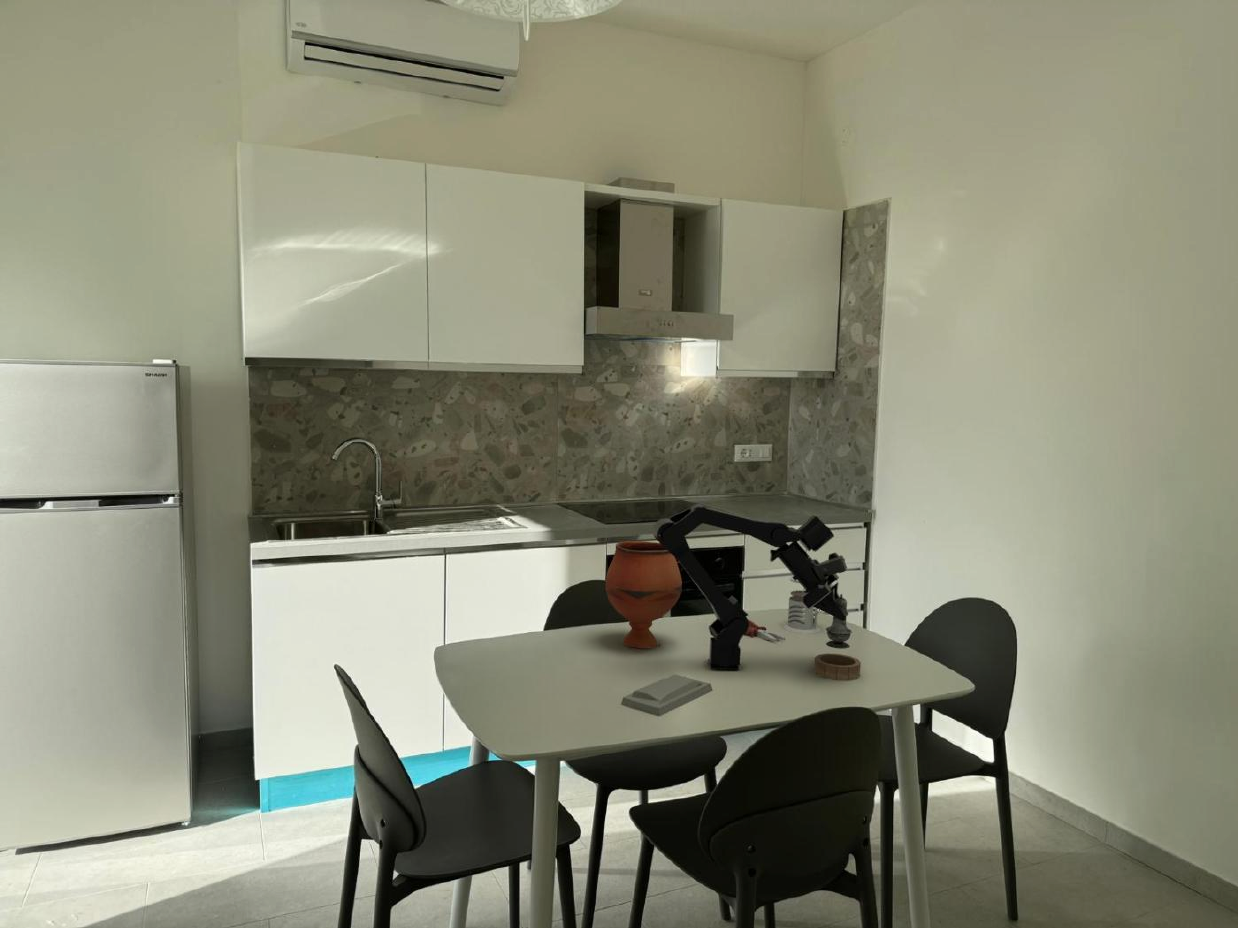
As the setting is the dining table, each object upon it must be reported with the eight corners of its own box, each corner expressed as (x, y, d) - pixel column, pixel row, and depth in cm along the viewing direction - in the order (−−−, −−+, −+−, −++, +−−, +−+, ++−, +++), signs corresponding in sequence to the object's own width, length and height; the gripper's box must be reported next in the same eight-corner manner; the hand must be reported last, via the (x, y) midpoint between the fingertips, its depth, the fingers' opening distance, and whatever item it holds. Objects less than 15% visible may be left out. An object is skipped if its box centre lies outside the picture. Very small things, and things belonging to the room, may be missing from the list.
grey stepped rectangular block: (713, 693, 192) (714, 677, 192) (660, 719, 176) (661, 701, 176) (673, 682, 198) (673, 666, 198) (618, 706, 182) (619, 689, 182)
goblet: (669, 659, 213) (674, 555, 211) (592, 649, 218) (596, 548, 216) (686, 638, 231) (690, 542, 229) (614, 629, 236) (618, 536, 234)
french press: (799, 621, 251) (804, 533, 249) (833, 631, 242) (838, 540, 240) (776, 627, 245) (780, 536, 243) (810, 637, 236) (815, 543, 234)
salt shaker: (819, 644, 206) (823, 592, 205) (833, 640, 210) (837, 589, 209) (842, 650, 202) (845, 597, 201) (855, 646, 206) (859, 594, 205)
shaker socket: (819, 679, 202) (820, 666, 202) (810, 665, 212) (811, 652, 212) (864, 680, 202) (865, 667, 202) (853, 666, 212) (853, 654, 212)
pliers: (766, 648, 226) (767, 638, 226) (709, 630, 241) (709, 620, 241) (795, 641, 234) (796, 631, 233) (737, 624, 249) (738, 615, 249)
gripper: (821, 549, 197) (869, 605, 194) (832, 537, 214) (876, 588, 211) (783, 580, 200) (830, 635, 197) (796, 565, 218) (840, 616, 215)
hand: (845, 617), depth 205 cm, fingers closed on salt shaker, 4 cm apart
